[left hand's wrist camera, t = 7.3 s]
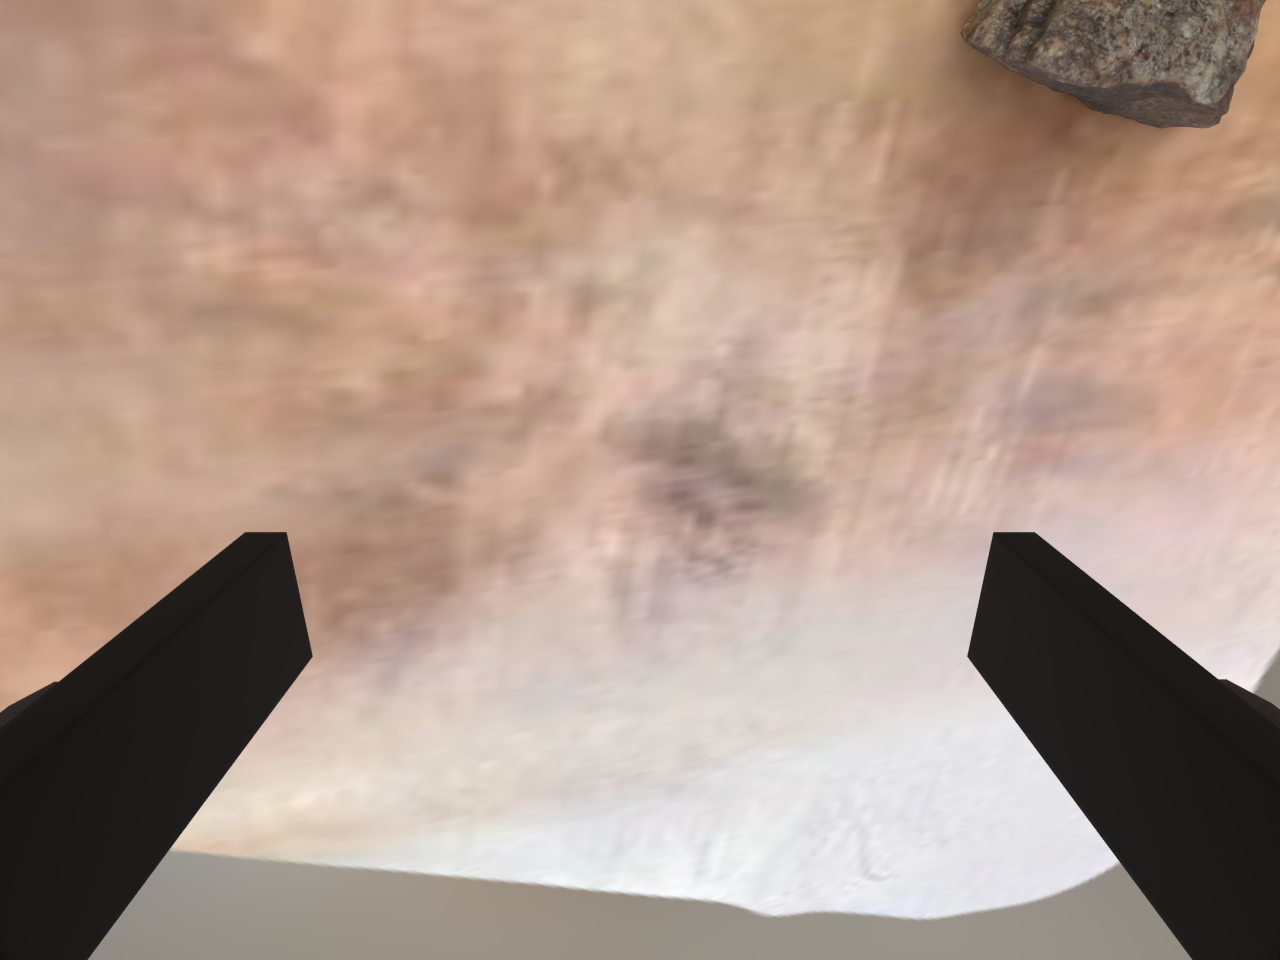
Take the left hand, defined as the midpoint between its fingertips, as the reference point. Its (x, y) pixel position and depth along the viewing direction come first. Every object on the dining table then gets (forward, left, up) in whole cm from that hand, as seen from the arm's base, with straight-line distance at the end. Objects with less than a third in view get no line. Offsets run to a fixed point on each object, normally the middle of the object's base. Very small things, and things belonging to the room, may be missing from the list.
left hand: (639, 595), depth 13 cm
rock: (-15, +23, -28) cm, 39 cm away
